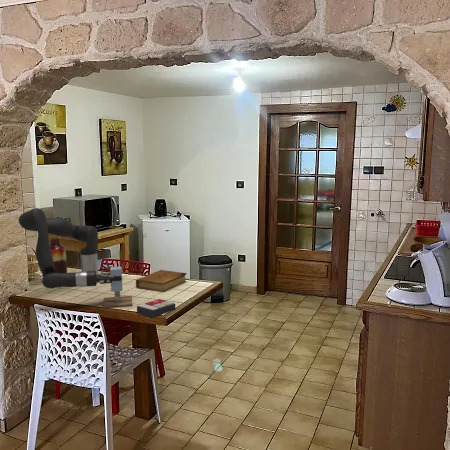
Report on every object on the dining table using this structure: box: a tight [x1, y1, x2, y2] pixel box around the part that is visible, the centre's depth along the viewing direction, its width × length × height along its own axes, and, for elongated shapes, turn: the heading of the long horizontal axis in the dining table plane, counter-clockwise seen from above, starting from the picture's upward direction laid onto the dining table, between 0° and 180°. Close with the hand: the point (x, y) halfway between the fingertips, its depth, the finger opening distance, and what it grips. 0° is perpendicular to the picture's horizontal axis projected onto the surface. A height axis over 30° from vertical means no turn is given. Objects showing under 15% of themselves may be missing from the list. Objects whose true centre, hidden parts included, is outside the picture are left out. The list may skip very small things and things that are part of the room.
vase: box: [48, 236, 68, 273], centre depth 269 cm, size 11×11×26 cm
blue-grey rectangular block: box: [109, 266, 123, 293], centre depth 229 cm, size 5×5×11 cm
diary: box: [135, 269, 188, 293], centre depth 262 cm, size 23×19×6 cm
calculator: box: [136, 298, 176, 319], centre depth 218 cm, size 11×4×15 cm
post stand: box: [102, 291, 133, 309], centre depth 231 cm, size 14×14×8 cm
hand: (121, 276), depth 229 cm, fingers closed on blue-grey rectangular block, 5 cm apart
